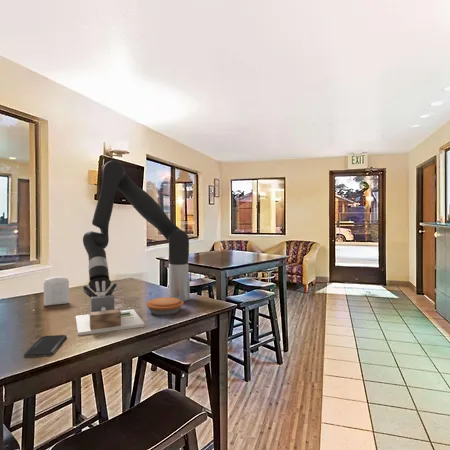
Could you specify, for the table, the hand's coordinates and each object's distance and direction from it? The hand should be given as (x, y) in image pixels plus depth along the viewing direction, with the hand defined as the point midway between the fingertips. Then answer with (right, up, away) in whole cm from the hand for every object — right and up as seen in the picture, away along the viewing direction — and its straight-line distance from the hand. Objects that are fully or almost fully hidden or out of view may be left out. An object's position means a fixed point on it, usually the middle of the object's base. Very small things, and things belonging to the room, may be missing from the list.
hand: (101, 307), depth 130 cm
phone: (-8, -6, -26) cm, 27 cm away
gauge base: (+3, -5, -2) cm, 6 cm away
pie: (+22, -5, +13) cm, 26 cm away
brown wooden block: (+5, -4, -10) cm, 12 cm away
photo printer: (-29, -5, +24) cm, 38 cm away
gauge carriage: (+5, -4, -2) cm, 6 cm away
